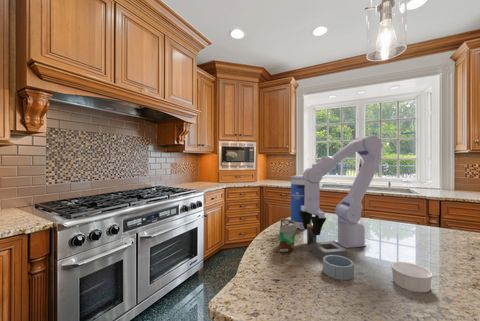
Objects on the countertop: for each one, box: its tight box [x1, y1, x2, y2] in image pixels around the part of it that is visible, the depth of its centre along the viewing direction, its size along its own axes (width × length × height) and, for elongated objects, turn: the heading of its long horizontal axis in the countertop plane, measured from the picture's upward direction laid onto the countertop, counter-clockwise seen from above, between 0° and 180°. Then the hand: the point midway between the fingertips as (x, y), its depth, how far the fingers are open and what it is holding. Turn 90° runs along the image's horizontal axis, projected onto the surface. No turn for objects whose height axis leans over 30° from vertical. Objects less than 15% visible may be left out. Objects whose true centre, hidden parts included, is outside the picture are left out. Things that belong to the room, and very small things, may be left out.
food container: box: [279, 218, 298, 255], centre depth 86 cm, size 12×6×10 cm, turn 168°
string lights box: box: [290, 174, 312, 230], centre depth 117 cm, size 13×8×26 cm, turn 147°
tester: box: [309, 240, 349, 261], centre depth 80 cm, size 9×9×3 cm
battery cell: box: [306, 223, 318, 246], centre depth 91 cm, size 4×4×8 cm
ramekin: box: [390, 261, 433, 294], centre depth 61 cm, size 9×9×4 cm
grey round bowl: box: [322, 255, 355, 281], centre depth 68 cm, size 8×8×4 cm
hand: (311, 232), depth 91 cm, fingers open, 7 cm apart
